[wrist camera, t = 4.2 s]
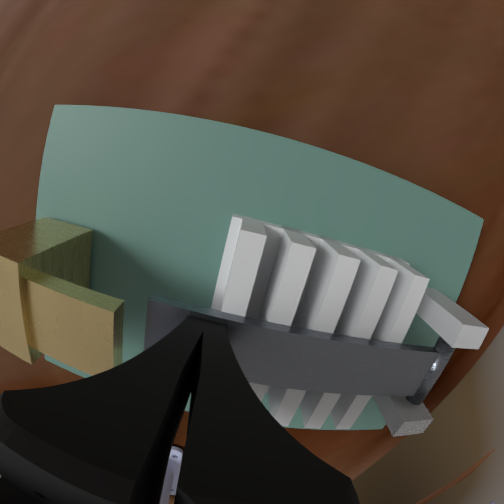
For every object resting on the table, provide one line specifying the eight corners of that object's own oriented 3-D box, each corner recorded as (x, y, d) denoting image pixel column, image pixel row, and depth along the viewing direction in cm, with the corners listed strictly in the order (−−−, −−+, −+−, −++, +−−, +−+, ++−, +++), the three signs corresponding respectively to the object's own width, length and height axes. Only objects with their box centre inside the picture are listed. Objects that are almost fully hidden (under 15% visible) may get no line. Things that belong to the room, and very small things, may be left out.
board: (377, 419, 16) (403, 475, 11) (52, 351, 15) (9, 400, 9) (472, 216, 13) (541, 238, 7) (65, 107, 11) (-7, 89, 5)
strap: (417, 392, 11) (425, 404, 10) (148, 353, 10) (140, 368, 9) (448, 337, 10) (459, 348, 9) (156, 279, 9) (146, 291, 8)
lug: (152, 328, 12) (112, 401, 8) (45, 290, 12) (-16, 335, 7) (163, 247, 11) (110, 297, 7) (45, 217, 11) (-30, 241, 6)
